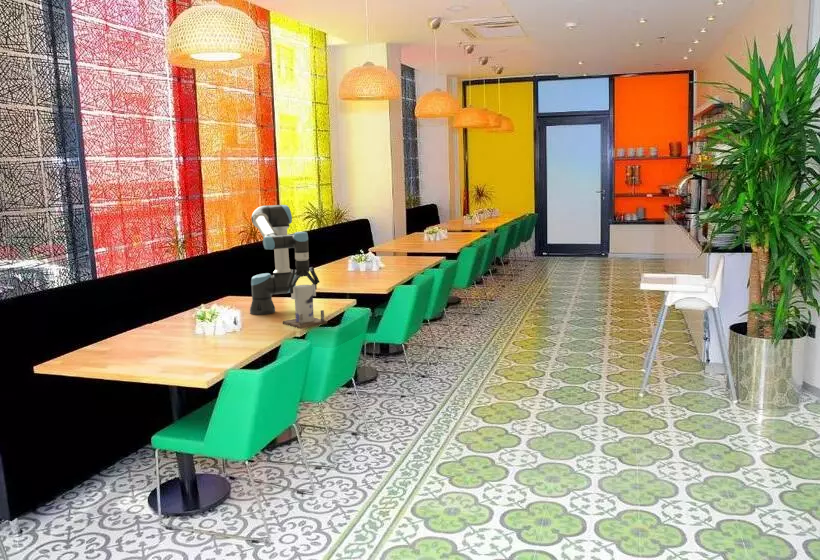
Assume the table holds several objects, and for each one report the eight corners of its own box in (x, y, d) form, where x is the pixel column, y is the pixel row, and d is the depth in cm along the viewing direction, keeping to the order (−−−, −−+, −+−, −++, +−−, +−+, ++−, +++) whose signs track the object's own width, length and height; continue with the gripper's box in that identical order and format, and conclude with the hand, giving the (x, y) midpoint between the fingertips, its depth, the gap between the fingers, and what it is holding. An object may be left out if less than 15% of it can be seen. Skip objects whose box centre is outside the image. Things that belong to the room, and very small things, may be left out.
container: (312, 322, 408) (310, 287, 404) (294, 323, 408) (292, 287, 405) (314, 318, 418) (313, 284, 414) (297, 319, 418) (295, 284, 415)
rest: (282, 323, 414) (282, 310, 413) (309, 318, 425) (309, 306, 424) (299, 328, 400) (299, 315, 399) (327, 323, 412) (326, 310, 411)
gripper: (286, 262, 396) (288, 301, 400) (324, 258, 412) (326, 295, 416) (279, 261, 402) (280, 299, 405) (317, 257, 418) (318, 293, 421)
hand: (303, 297), depth 410 cm, fingers open, 13 cm apart
